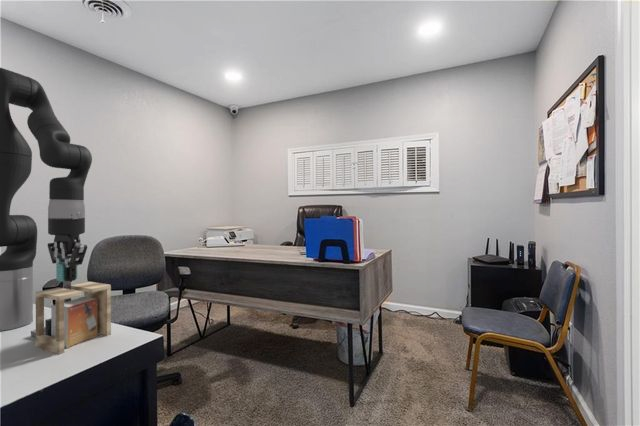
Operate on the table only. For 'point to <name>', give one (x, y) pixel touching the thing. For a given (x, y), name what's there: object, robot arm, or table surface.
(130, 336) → the table surface
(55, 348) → the tunnel
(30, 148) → the robot arm
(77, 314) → the small box
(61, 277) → the slider
